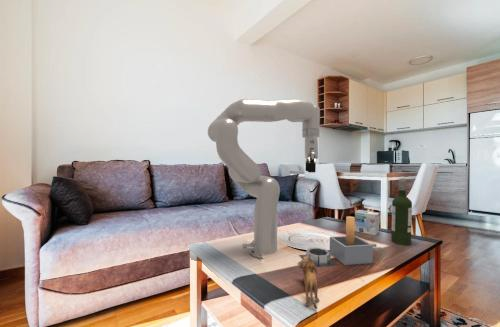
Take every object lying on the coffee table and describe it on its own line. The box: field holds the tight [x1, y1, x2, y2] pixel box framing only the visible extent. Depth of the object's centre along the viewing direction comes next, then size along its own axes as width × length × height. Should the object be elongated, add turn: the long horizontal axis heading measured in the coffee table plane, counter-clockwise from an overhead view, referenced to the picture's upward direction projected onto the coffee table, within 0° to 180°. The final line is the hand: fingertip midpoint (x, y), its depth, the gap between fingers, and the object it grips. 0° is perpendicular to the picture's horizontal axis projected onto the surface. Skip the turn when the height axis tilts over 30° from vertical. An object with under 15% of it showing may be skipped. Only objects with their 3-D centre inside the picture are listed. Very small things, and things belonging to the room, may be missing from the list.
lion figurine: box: [296, 256, 320, 310], centre depth 70 cm, size 15×5×9 cm, turn 0°
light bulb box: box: [354, 209, 380, 236], centre depth 131 cm, size 11×7×11 cm, turn 50°
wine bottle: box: [390, 177, 413, 246], centre depth 115 cm, size 8×8×30 cm
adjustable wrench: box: [320, 239, 382, 252], centre depth 111 cm, size 25×6×2 cm, turn 69°
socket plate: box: [298, 247, 340, 268], centre depth 91 cm, size 11×11×4 cm
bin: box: [329, 235, 374, 266], centre depth 93 cm, size 11×11×8 cm
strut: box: [345, 215, 356, 246], centre depth 93 cm, size 5×5×16 cm
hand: (310, 171), depth 111 cm, fingers open, 9 cm apart
